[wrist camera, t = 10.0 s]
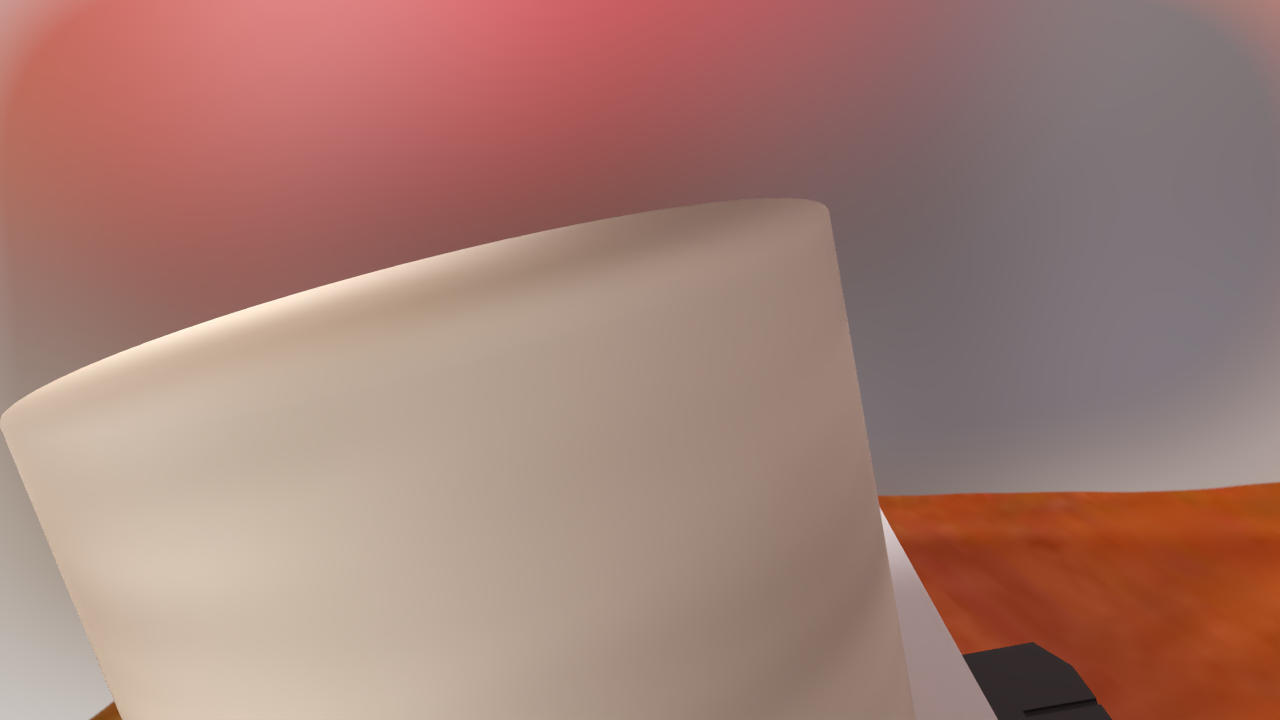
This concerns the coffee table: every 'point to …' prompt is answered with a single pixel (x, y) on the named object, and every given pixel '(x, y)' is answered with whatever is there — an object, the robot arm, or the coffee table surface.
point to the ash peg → (490, 489)
